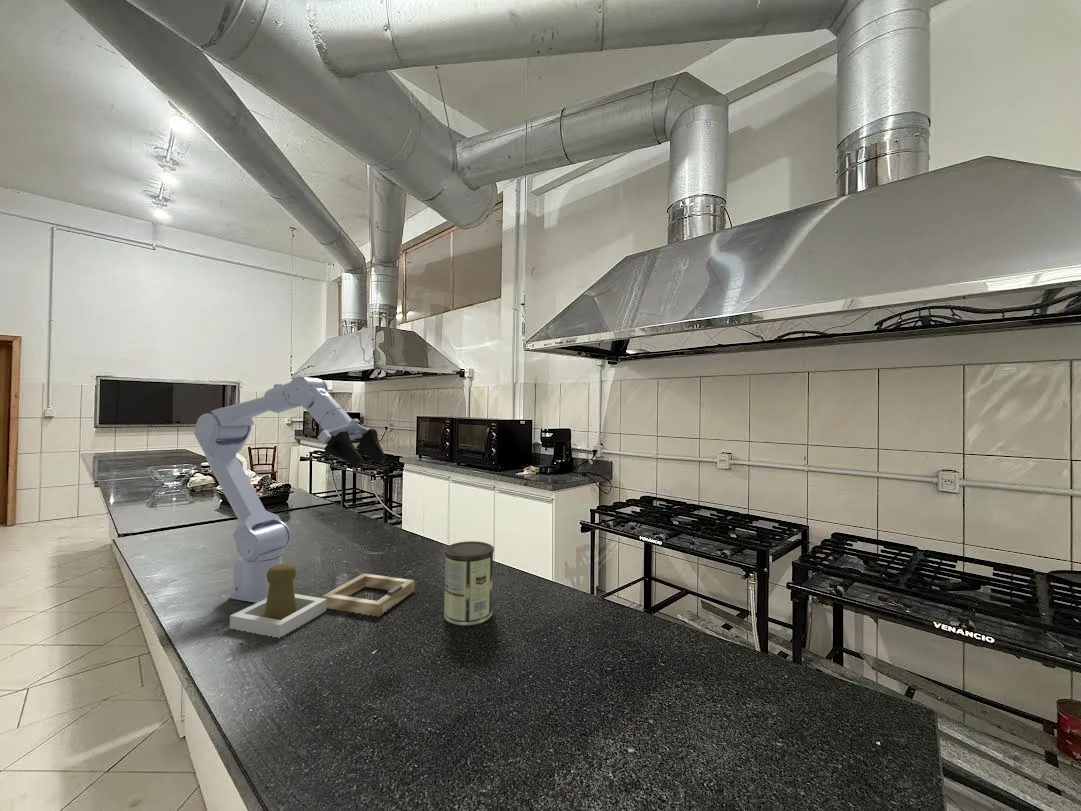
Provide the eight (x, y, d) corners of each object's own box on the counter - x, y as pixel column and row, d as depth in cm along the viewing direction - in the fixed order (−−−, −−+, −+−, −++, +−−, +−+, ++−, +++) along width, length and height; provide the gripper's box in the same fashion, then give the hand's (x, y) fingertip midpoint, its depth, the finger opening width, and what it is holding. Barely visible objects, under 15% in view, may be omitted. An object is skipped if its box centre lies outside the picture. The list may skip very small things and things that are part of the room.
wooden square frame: (322, 607, 96) (322, 593, 96) (363, 583, 110) (364, 570, 110) (378, 616, 93) (378, 602, 93) (414, 590, 106) (414, 577, 106)
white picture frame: (229, 628, 86) (230, 615, 86) (280, 602, 98) (280, 591, 98) (279, 638, 83) (280, 624, 83) (326, 610, 95) (326, 598, 95)
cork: (281, 628, 87) (283, 571, 87) (255, 624, 88) (257, 568, 88) (303, 614, 93) (305, 561, 93) (279, 611, 94) (280, 558, 94)
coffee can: (461, 600, 102) (463, 538, 102) (500, 609, 97) (502, 545, 98) (432, 618, 92) (434, 550, 93) (474, 630, 88) (476, 559, 88)
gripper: (318, 404, 90) (360, 451, 87) (364, 405, 104) (402, 446, 101) (298, 429, 91) (339, 477, 88) (347, 427, 105) (383, 468, 102)
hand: (371, 462), depth 95 cm, fingers open, 7 cm apart
